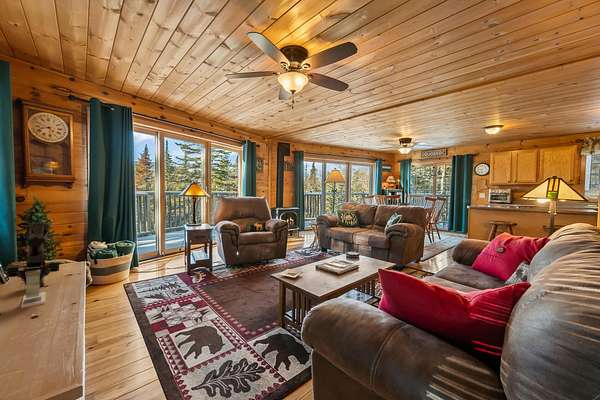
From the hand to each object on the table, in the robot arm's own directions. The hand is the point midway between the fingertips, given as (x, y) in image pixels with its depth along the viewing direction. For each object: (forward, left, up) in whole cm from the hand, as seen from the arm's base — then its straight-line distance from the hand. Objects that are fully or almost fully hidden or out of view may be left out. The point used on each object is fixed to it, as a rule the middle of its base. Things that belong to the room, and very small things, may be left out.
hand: (32, 283), depth 124 cm
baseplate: (-4, +1, -10) cm, 11 cm away
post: (-1, 0, -7) cm, 7 cm away
